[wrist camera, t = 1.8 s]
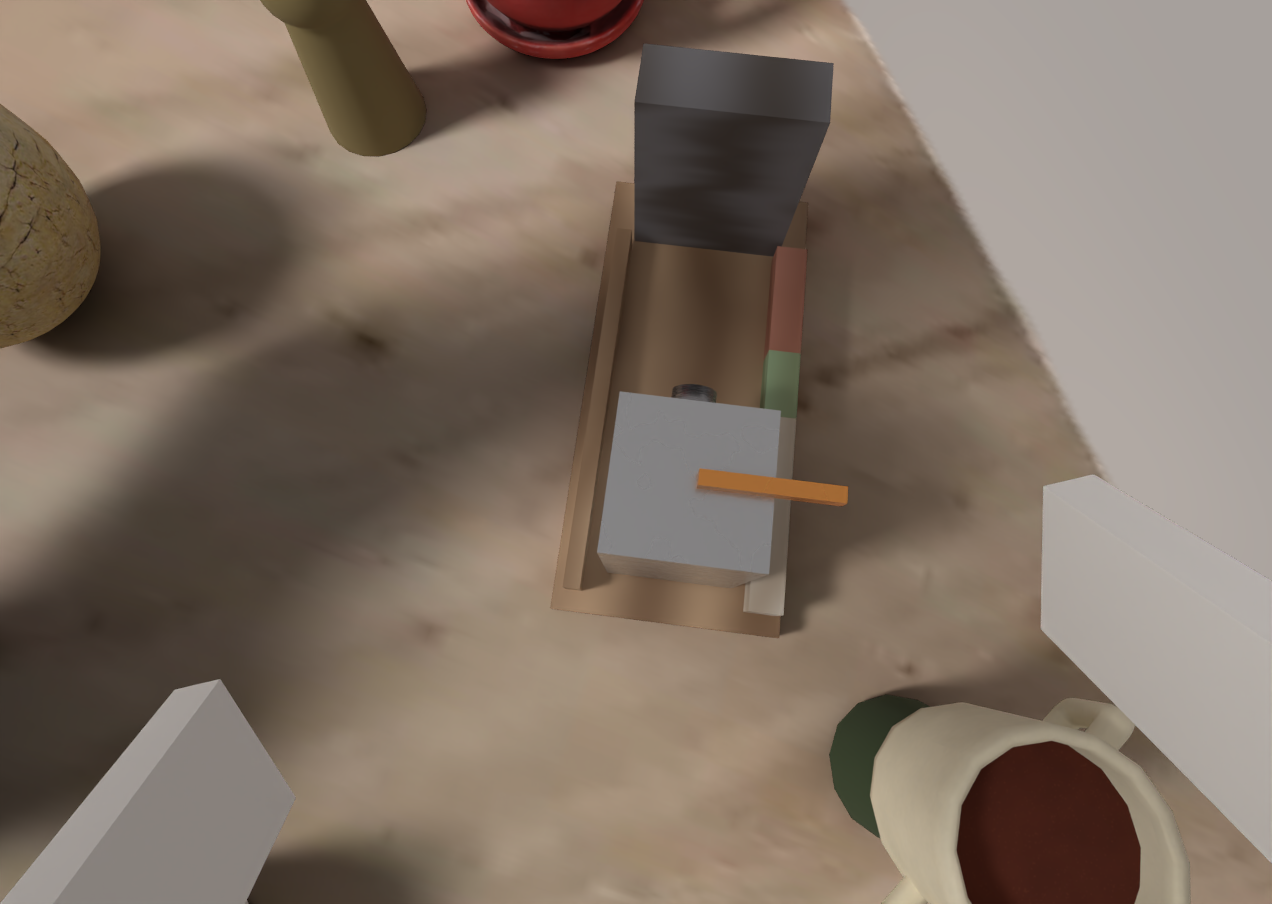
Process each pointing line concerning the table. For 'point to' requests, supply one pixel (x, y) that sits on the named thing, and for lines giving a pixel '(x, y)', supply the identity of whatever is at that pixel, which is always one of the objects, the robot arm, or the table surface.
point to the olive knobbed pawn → (354, 74)
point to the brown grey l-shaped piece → (700, 300)
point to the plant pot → (555, 24)
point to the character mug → (1008, 804)
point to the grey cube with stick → (695, 489)
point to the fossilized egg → (41, 235)
